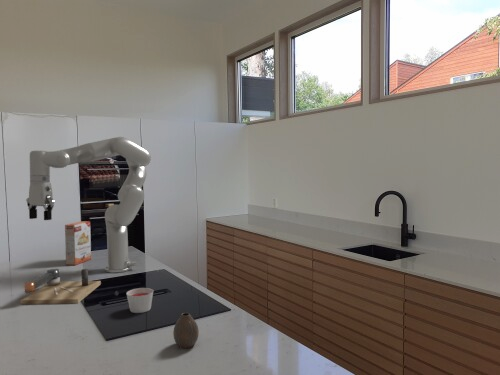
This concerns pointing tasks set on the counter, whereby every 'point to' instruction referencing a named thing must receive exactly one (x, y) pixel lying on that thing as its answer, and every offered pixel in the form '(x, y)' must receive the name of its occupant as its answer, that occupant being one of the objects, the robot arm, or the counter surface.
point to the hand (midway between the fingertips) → (40, 219)
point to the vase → (185, 331)
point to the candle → (140, 299)
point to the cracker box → (77, 242)
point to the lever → (41, 280)
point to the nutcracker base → (62, 291)
